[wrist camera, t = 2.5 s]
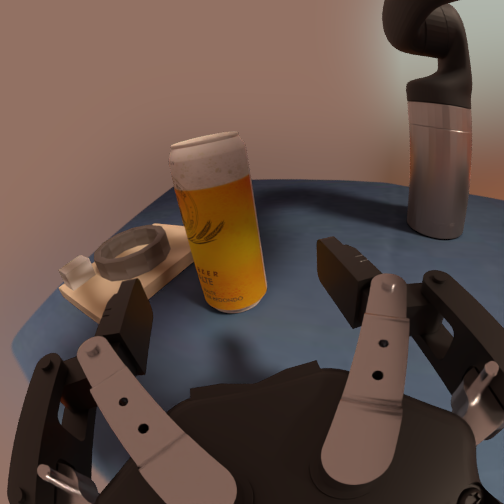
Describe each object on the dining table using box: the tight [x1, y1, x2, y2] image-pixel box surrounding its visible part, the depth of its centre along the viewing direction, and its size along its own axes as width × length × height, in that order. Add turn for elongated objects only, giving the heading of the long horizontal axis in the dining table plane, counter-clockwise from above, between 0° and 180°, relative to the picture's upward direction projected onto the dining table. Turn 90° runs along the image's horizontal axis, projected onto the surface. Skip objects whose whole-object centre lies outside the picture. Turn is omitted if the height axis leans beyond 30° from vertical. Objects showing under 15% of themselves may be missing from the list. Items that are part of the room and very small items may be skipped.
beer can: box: [168, 131, 267, 313], centre depth 23 cm, size 6×6×15 cm
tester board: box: [59, 224, 194, 324], centre depth 33 cm, size 20×14×4 cm
